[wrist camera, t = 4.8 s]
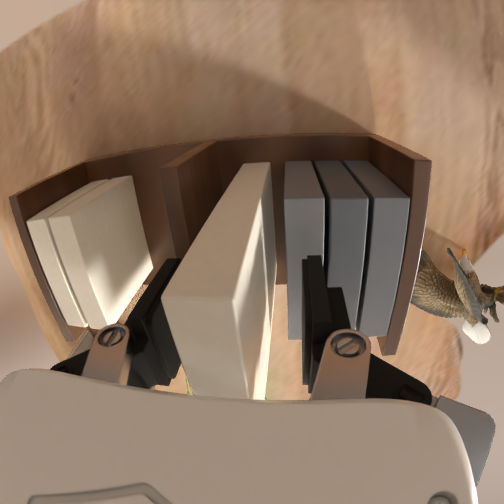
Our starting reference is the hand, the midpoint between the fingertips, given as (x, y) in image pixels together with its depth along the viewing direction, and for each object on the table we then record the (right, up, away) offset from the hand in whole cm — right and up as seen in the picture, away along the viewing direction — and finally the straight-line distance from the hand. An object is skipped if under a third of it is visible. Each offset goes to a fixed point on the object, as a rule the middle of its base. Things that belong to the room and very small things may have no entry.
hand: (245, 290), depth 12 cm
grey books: (+5, +4, +6) cm, 9 cm away
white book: (+1, +4, +7) cm, 8 cm away
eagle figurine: (+16, 0, +8) cm, 18 cm away
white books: (-9, +3, +8) cm, 13 cm away
